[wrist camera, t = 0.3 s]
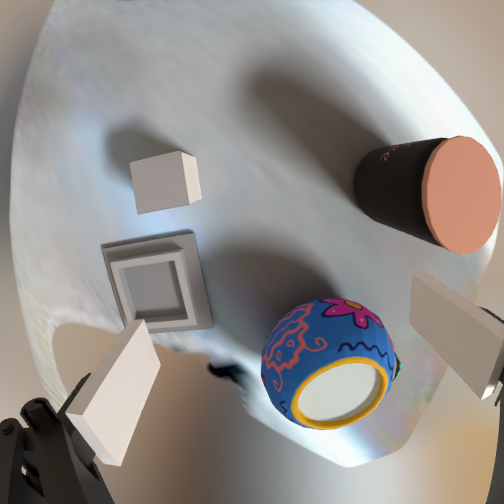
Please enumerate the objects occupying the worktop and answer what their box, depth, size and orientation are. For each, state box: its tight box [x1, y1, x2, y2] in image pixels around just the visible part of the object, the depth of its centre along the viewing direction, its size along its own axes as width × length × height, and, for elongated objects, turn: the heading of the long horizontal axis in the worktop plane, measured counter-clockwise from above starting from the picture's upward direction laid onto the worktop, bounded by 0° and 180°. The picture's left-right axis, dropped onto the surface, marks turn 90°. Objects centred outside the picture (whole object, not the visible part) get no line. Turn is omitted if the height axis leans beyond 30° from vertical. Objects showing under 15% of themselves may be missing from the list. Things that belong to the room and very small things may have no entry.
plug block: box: [130, 151, 202, 215], centre depth 32 cm, size 6×6×9 cm
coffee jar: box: [354, 136, 501, 255], centre depth 28 cm, size 11×11×18 cm
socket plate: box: [103, 233, 214, 334], centre depth 38 cm, size 14×14×3 cm
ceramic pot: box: [261, 298, 401, 430], centre depth 34 cm, size 18×18×15 cm
